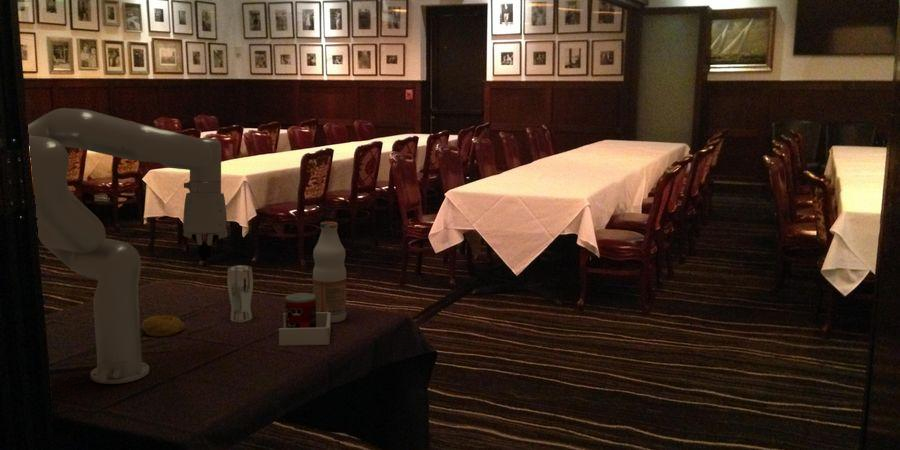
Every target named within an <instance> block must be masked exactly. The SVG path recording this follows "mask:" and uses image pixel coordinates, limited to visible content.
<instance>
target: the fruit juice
mask: <svg viewBox="0 0 900 450" xmlns="http://www.w3.org/2000/svg"><path fill="white" fill-rule="evenodd" d="M319 227H320V230H321V231H320V235H319V237H318V240H317V243H316V244H315V247H314V248H313V252H312V258H313V261H314V266H313V269H312V294H313V295H315V297H316V312H331V324H333V323H335V324H336V323H339V322H343V321H344V320H346V318H347V269H346V266H345V259H346V248H345V247H344V245H343V244H342V242H341V239H340V237H339V234H338V228H339V223H338V222H337V221H322V222H320V225H319Z"/></svg>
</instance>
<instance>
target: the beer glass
mask: <svg viewBox="0 0 900 450" xmlns="http://www.w3.org/2000/svg"><path fill="white" fill-rule="evenodd" d="M226 284H227V291H228V297H229V301H230V306H231V308H230V309H231V312H230V321H231V322H232V323H246V322H250V321H252V320H253V316H252V310H251V302H252V296H253V291H254V290H253V289H254V276H253V267H252V266H250V265H233V266H229V267H228V268H227V283H226Z"/></svg>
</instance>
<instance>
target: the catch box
mask: <svg viewBox="0 0 900 450" xmlns="http://www.w3.org/2000/svg"><path fill="white" fill-rule="evenodd" d="M282 316H283V317H282V318H283V321H282V323H283V328H282V327H280V328H278V332H279V333H278V340H279V341H278V345H279V346H280V347H281V346H321V345H323V346H324V345H328V346H329V345H330V341H331V329H332V328H331V327H332V325H331V324H332V323H331V312H316V328H286V312H283V314H282Z"/></svg>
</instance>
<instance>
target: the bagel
mask: <svg viewBox="0 0 900 450" xmlns="http://www.w3.org/2000/svg"><path fill="white" fill-rule="evenodd" d="M141 328H142V330H143V331H144V332H145V334H147V336H149V337H157V338H158V337H159V338H161V337H169V336H175V335H176V334H178V333H180V332H182V331H184V330H185V329H186V325H185V323H184V322H183V321H182V320H181V319H180V318H179V317H177V316H174V315H167V314H166V315H153V316H152V315H151V316H149V317H147V318H146V319H144V320H143V322H142V323H141Z"/></svg>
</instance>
